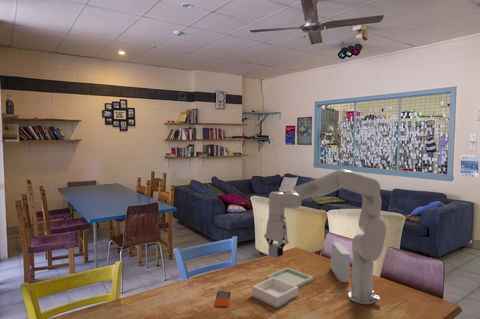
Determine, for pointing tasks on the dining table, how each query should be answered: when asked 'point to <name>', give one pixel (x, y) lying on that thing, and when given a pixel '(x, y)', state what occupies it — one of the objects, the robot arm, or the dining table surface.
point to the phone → (222, 299)
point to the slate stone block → (274, 250)
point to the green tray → (292, 277)
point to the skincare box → (340, 262)
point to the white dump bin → (274, 292)
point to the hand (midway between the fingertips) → (275, 253)
